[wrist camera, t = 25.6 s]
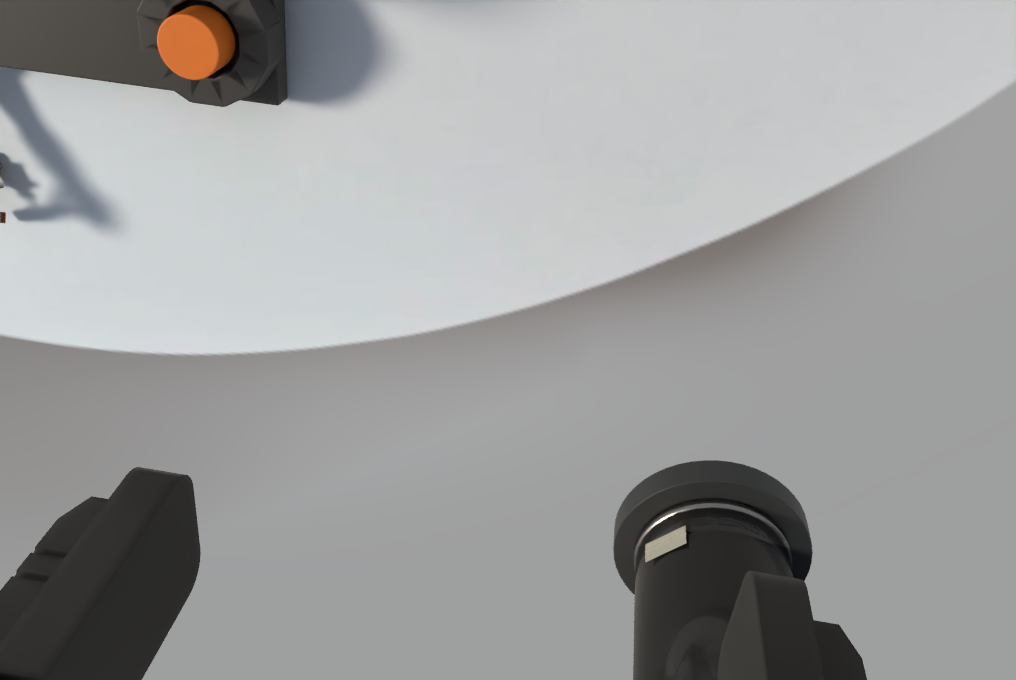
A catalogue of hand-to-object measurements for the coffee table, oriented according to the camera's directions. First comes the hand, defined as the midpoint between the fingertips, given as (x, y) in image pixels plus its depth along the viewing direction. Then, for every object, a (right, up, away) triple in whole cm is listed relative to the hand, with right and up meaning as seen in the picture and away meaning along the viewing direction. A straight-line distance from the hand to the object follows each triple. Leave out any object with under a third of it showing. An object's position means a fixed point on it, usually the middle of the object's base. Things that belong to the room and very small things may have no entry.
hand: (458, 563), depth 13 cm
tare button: (-12, +16, +25) cm, 32 cm away
